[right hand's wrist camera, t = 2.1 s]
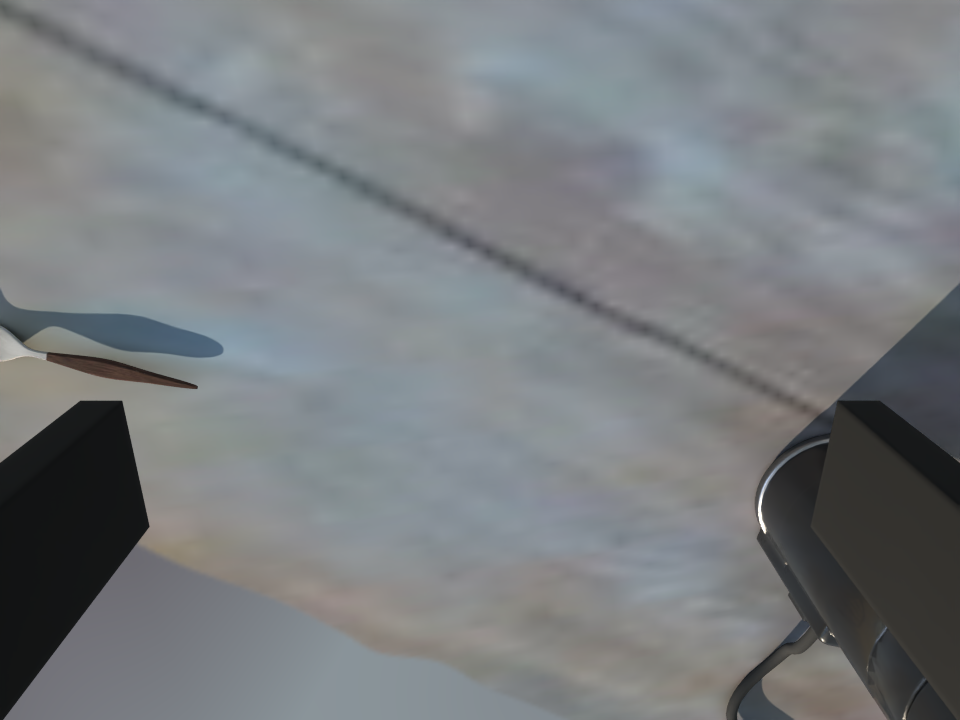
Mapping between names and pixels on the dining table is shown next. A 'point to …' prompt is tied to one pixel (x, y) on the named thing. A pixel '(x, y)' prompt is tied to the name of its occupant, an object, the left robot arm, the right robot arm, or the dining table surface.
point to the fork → (85, 363)
